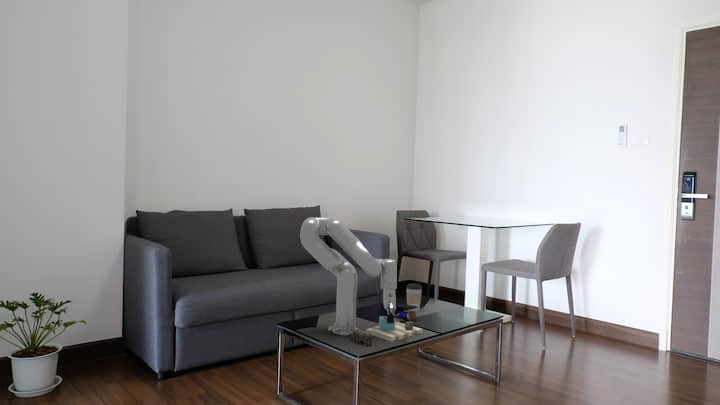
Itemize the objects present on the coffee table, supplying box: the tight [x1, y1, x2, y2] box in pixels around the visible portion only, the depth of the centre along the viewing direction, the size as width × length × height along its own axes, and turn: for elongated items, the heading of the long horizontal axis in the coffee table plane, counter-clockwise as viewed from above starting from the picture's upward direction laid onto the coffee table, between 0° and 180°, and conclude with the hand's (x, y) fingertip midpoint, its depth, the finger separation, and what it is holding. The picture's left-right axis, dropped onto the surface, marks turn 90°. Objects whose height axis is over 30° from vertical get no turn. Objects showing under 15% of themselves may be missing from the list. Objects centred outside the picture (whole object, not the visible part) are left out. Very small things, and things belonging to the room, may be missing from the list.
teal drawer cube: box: [378, 315, 396, 330], centre depth 246 cm, size 7×7×5 cm
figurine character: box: [393, 303, 418, 321], centre depth 275 cm, size 7×8×15 cm
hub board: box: [365, 320, 424, 343], centre depth 245 cm, size 22×17×6 cm
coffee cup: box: [406, 282, 423, 312], centre depth 295 cm, size 9×9×15 cm
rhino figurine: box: [349, 328, 373, 347], centre depth 229 cm, size 4×14×6 cm, turn 44°
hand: (389, 320), depth 246 cm, fingers open, 9 cm apart
